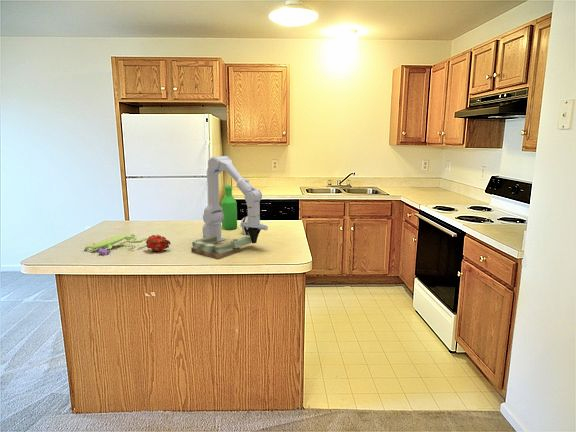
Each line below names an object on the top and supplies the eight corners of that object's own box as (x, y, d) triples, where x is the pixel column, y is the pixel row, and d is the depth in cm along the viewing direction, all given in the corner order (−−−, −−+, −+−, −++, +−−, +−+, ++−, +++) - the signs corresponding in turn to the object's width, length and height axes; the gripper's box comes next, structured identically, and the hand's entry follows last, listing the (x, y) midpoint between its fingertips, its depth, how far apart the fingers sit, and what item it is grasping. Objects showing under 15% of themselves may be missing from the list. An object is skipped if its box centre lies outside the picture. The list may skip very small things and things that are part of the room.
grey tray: (191, 251, 183) (190, 241, 181) (213, 244, 194) (213, 235, 192) (218, 259, 172) (217, 248, 171) (240, 251, 183) (239, 241, 182)
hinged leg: (235, 248, 180) (235, 241, 179) (230, 247, 182) (230, 240, 181) (255, 241, 191) (255, 234, 190) (250, 240, 193) (250, 233, 192)
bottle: (240, 227, 228) (239, 185, 223) (230, 230, 221) (229, 187, 215) (228, 225, 233) (227, 184, 227) (218, 228, 225) (217, 186, 220)
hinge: (253, 235, 211) (246, 218, 209) (245, 238, 212) (238, 221, 210) (260, 228, 227) (254, 212, 225) (253, 230, 228) (247, 214, 226)
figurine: (151, 248, 189) (150, 237, 188) (91, 259, 173) (89, 247, 172) (139, 240, 204) (138, 229, 202) (83, 249, 188) (81, 238, 187)
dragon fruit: (145, 253, 186) (170, 257, 186) (140, 247, 178) (165, 251, 178) (150, 236, 189) (175, 240, 189) (145, 230, 182) (170, 234, 181)
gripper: (271, 215, 184) (271, 242, 187) (246, 212, 191) (246, 238, 194) (263, 218, 178) (263, 246, 181) (237, 214, 185) (238, 242, 188)
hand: (254, 242), depth 187 cm, fingers closed
